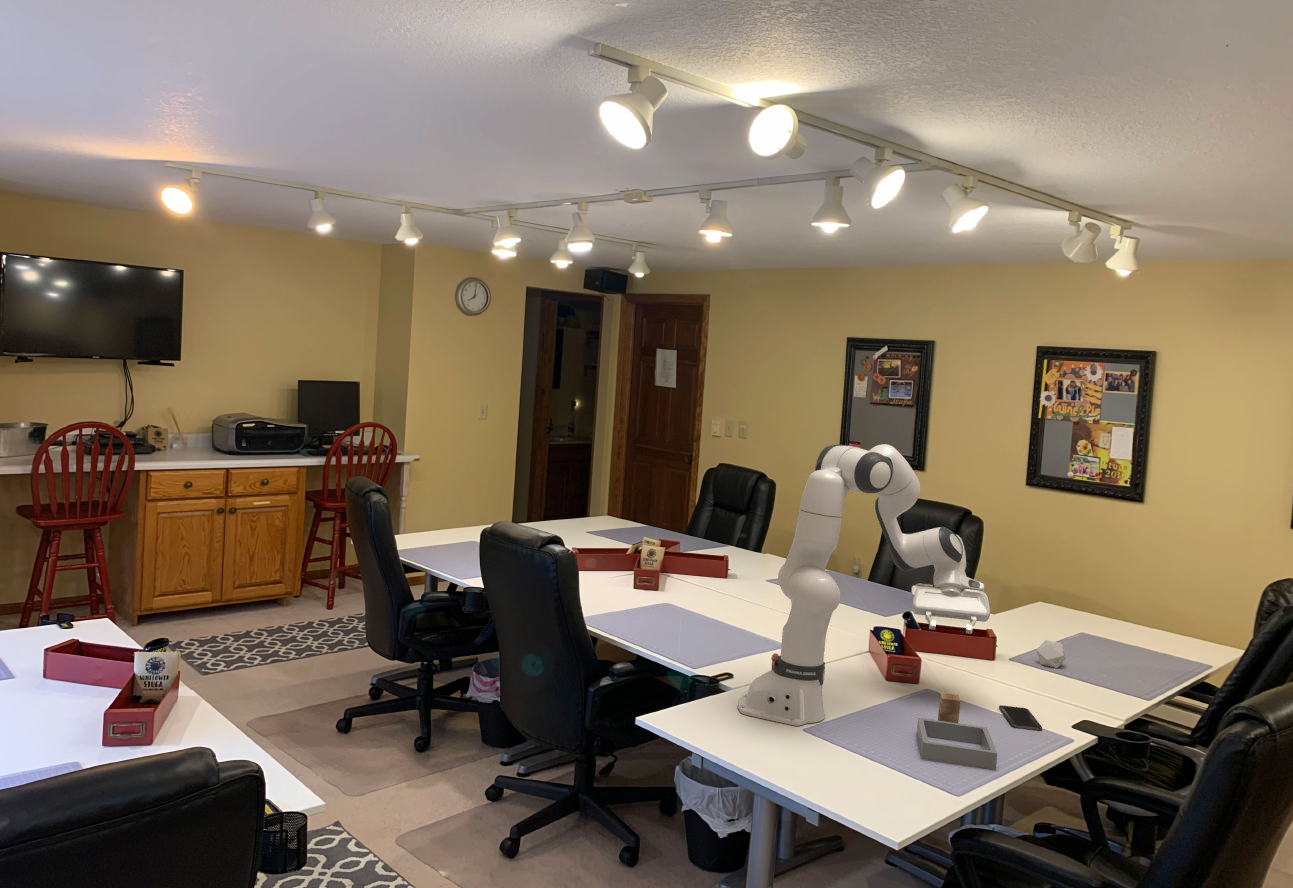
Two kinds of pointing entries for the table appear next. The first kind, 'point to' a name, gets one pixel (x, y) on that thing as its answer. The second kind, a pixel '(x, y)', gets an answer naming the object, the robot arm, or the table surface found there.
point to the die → (1051, 654)
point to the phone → (1020, 718)
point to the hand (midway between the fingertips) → (950, 630)
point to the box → (953, 752)
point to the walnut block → (949, 708)
